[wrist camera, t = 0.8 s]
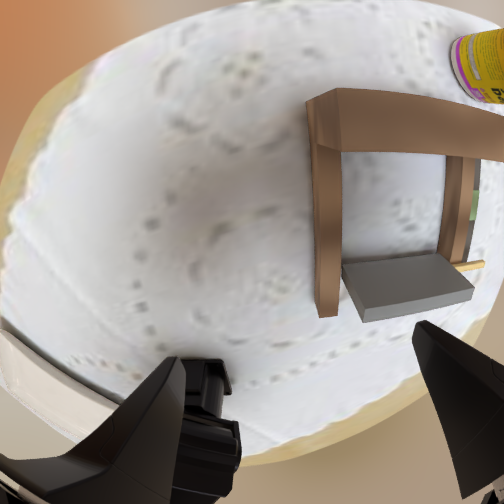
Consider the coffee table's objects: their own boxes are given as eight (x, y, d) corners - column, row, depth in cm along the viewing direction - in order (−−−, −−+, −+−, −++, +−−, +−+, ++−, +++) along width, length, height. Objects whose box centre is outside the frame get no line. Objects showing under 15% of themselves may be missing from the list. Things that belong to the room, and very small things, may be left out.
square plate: (14, 380, 38) (7, 392, 35) (2, 310, 28) (-11, 325, 25) (111, 441, 45) (107, 454, 41) (140, 403, 34) (134, 423, 31)
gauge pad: (470, 259, 21) (504, 290, 16) (341, 276, 22) (362, 323, 17) (472, 248, 21) (508, 278, 15) (341, 264, 22) (365, 309, 16)
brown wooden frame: (459, 279, 24) (499, 323, 16) (314, 301, 25) (332, 367, 17) (477, 118, 16) (538, 130, 9) (306, 101, 17) (336, 88, 10)
